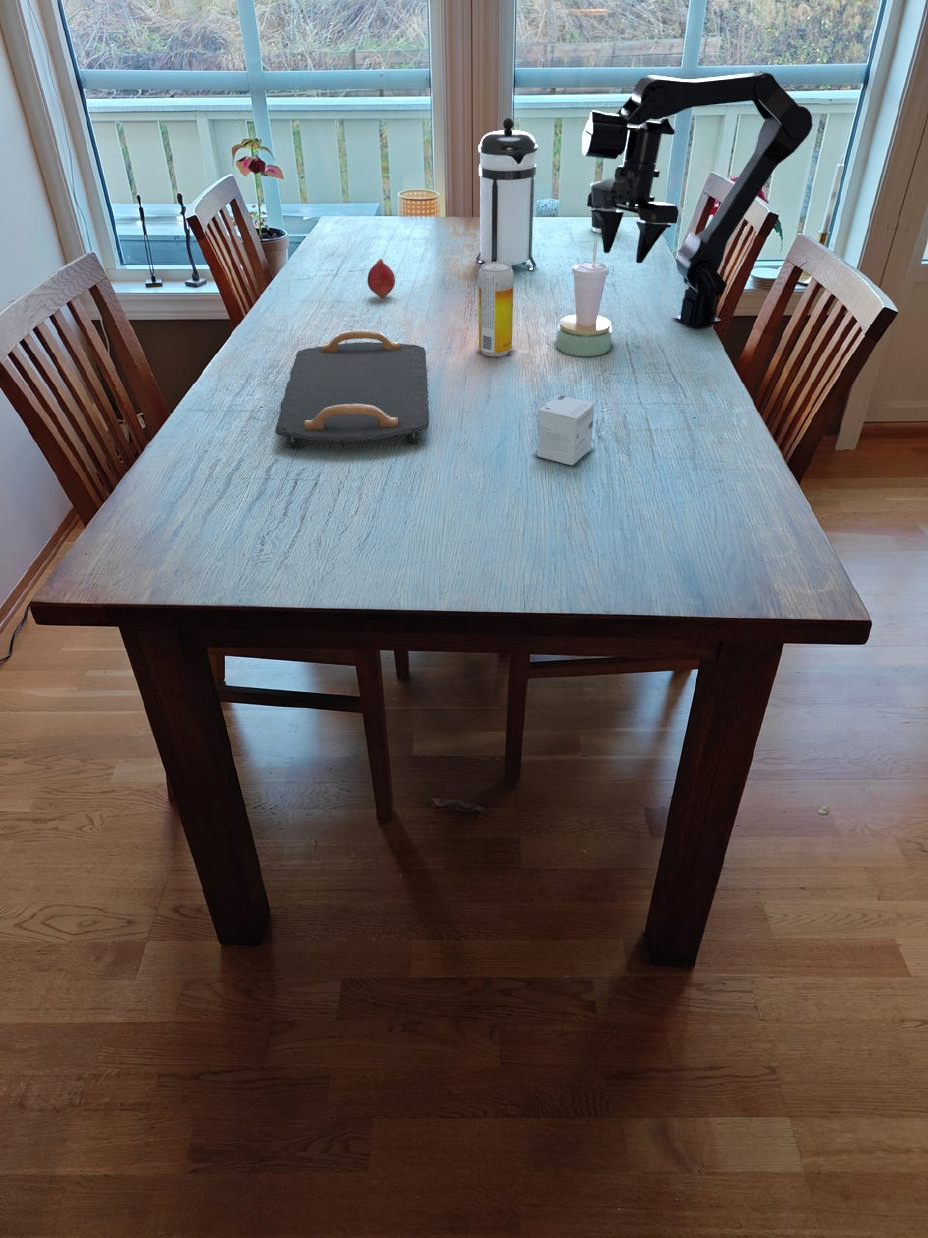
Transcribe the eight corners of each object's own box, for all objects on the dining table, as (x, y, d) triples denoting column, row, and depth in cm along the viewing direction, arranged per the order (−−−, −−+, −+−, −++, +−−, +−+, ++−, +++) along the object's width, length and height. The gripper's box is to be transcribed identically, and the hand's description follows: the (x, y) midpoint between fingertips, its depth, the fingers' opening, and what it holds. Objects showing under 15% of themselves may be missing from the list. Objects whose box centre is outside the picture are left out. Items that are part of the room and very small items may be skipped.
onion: (364, 300, 177) (360, 260, 172) (376, 292, 182) (373, 253, 177) (388, 303, 176) (386, 263, 171) (400, 295, 180) (398, 256, 175)
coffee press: (550, 261, 199) (558, 114, 180) (517, 278, 188) (521, 125, 169) (488, 251, 206) (489, 109, 187) (453, 267, 195) (450, 119, 177)
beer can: (516, 347, 155) (519, 263, 146) (504, 359, 151) (505, 272, 141) (486, 343, 157) (487, 259, 148) (473, 354, 153) (472, 268, 143)
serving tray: (431, 453, 122) (429, 413, 119) (272, 459, 122) (265, 419, 118) (426, 355, 153) (425, 321, 149) (299, 359, 152) (294, 325, 148)
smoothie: (596, 330, 149) (603, 247, 140) (563, 325, 152) (568, 242, 143) (609, 319, 154) (616, 238, 145) (576, 314, 156) (582, 234, 147)
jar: (587, 332, 161) (589, 309, 158) (621, 348, 154) (624, 325, 151) (545, 343, 157) (546, 319, 154) (578, 360, 150) (580, 335, 147)
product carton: (573, 466, 119) (576, 418, 114) (535, 456, 121) (537, 408, 117) (591, 449, 123) (595, 402, 118) (554, 440, 125) (557, 393, 121)
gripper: (570, 153, 148) (557, 247, 157) (640, 166, 135) (621, 269, 144) (618, 156, 154) (603, 247, 162) (690, 169, 141) (669, 268, 149)
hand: (622, 257), depth 154 cm, fingers open, 9 cm apart
